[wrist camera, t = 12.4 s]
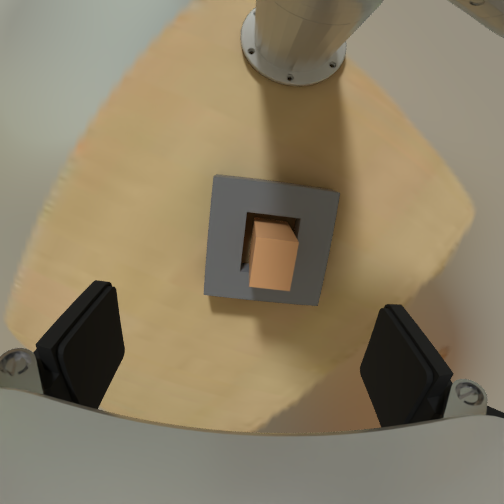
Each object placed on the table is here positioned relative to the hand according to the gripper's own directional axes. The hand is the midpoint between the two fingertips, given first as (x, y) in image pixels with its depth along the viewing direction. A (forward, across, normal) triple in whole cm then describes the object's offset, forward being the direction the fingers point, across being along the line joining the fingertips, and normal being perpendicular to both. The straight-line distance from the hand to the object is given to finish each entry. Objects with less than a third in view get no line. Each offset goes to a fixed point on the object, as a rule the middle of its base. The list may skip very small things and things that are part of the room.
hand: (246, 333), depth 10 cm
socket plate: (+27, -3, +5) cm, 28 cm away
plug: (+27, -3, +5) cm, 28 cm away
